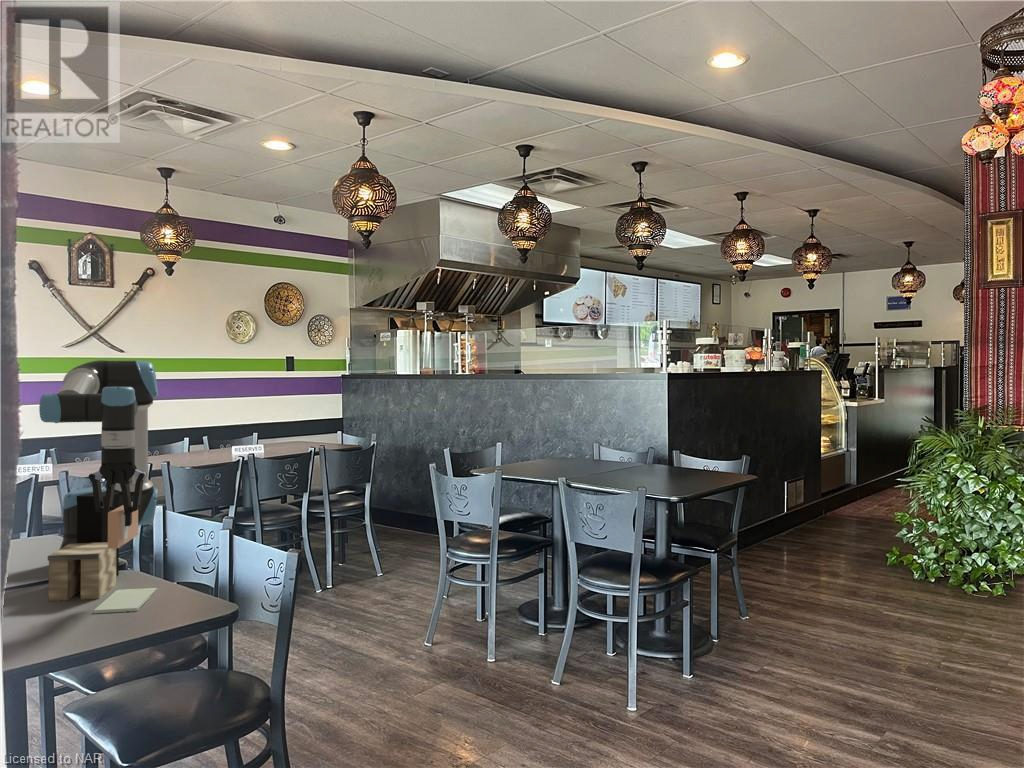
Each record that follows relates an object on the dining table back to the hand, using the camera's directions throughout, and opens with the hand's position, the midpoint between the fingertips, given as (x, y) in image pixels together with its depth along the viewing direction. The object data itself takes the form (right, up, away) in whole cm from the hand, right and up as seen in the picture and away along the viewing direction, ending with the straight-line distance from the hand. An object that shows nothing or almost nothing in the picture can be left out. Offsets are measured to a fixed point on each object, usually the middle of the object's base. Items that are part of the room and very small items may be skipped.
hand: (117, 539), depth 186 cm
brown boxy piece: (-16, -17, +13) cm, 27 cm away
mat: (0, -17, +5) cm, 18 cm away
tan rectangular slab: (-1, -2, +4) cm, 5 cm away
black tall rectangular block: (-20, -18, +26) cm, 38 cm away
